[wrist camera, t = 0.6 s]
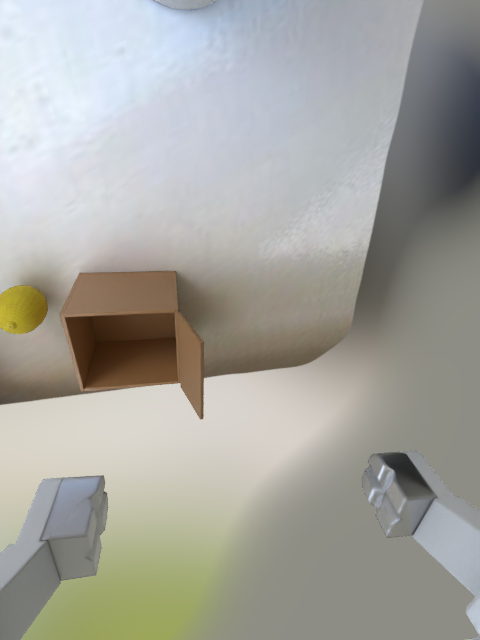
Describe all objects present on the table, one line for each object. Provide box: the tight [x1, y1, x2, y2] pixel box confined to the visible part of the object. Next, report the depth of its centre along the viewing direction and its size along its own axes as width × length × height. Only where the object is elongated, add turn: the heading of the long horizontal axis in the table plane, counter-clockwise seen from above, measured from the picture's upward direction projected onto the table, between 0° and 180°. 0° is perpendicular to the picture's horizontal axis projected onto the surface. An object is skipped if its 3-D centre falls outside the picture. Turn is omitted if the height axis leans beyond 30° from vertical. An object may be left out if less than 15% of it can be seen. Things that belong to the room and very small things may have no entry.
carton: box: [60, 271, 181, 391], centre depth 45 cm, size 12×13×10 cm
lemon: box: [0, 285, 48, 334], centre depth 42 cm, size 6×6×8 cm
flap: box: [177, 313, 204, 419], centre depth 40 cm, size 12×6×1 cm
